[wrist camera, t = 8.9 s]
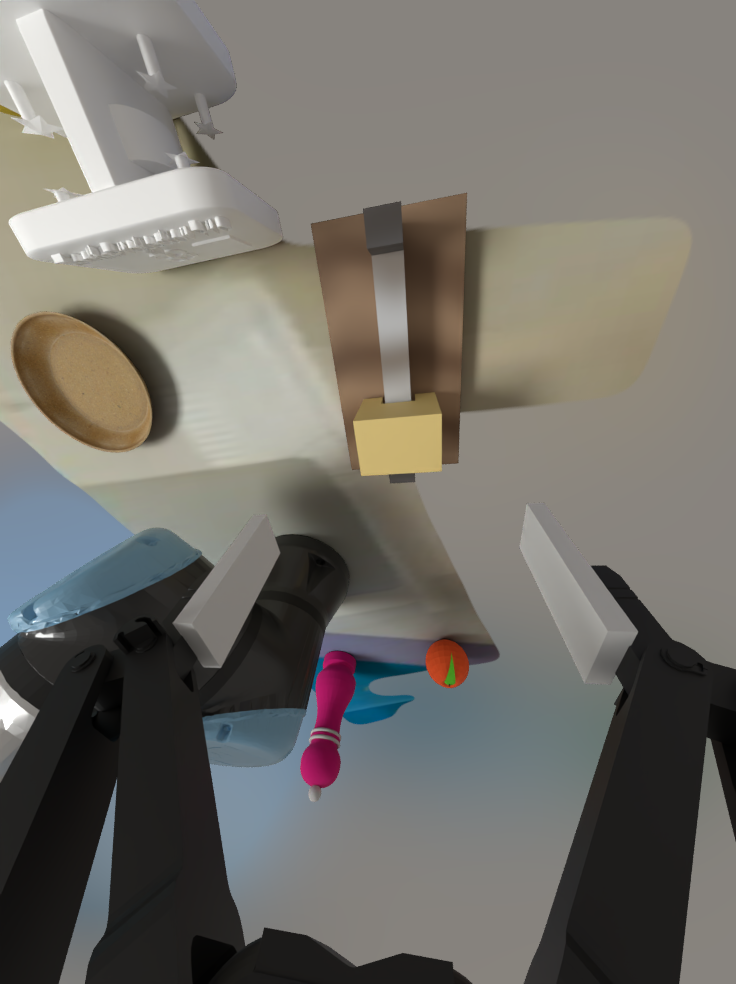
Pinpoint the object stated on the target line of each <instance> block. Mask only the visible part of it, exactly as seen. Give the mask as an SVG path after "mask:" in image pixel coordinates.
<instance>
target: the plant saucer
mask: <svg viewBox="0 0 736 984" xmlns="http://www.w3.org/2000/svg"><path fill="white" fill-rule="evenodd" d="M11 357H12V362H13V366H14V369H15V371H16V374H17V377H18V379H19V381H20V383H21V385H22V387H23V388H24V390H25V392H26V393H27V395H28V396H29V398H30V399H31V401H32V402H33V403H34V404H35V406H36V407H37V408H38V409H39V410H40V412H41V413H42V414H43V415H44V416H45V417H46V418H47V419H48V420H49V421H50V422H51V423H53V424H54V425H55V426H56V427H57V428H59V429H60V430H61V431H63V432H64V433H65V434H67V435H69V436H70V437H71V438H73V439H75V440H77V441H79V442H81V443H82V444H85V445H87V446H89V447H92V448H95V449H98V450H101V451H106V452H116V453H117V452H126V451H130V450H132V449H135V448H136V447H138V446H140V445H141V444H142V443H143V442H144V441H145V440H146V438H147V437H148V435H149V433H150V430H151V425H152V404H151V399H150V395H149V392H148V389H147V387H146V384H145V382H144V380H143V378H142V376H141V375H140V373H139V371H138V370H137V368H136V367H135V366H134V364H133V363H132V362H131V360H130V359H129V358H128V357H127V356H126V355H125V354H124V353H123V352H122V350H121V349H120V348H118V347H117V346H116V345H115V344H114V343H113V342H112V341H111V340H109V339H108V338H107V337H106V336H104V335H103V334H102V333H100V332H99V331H97V330H96V329H94V328H93V327H91V326H90V325H88V324H86V323H84V322H82V321H80V320H78V319H76V318H74V317H71V316H68V315H65V314H61V313H57V312H47V311H45V312H37V313H33V314H30V315H28V316H26V317H24V318H23V319H22V320H20V322H19V323H18V324H17V325H16V327H15V328H14V331H13V334H12V338H11Z"/></svg>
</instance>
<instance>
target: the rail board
mask: <svg viewBox="0 0 736 984" xmlns="http://www.w3.org/2000/svg"><path fill="white" fill-rule="evenodd" d="M466 206H467V193H464V194H458V195H453V196H448V197H444V198H438V199H433V200H428V201H423V202H418V203H413V204H408V205H403V206H401V202H395V203H390V204H385V205H380V206H375V207H370V208H366V209H363V214H358V215H353V216H348V217H343V218H338V219H332V220H327V221H323V222H318V223H312V224H311V228H312V233H313V240H314V246H315V252H316V258H317V264H318V269H319V275H320V281H321V287H322V293H323V299H324V305H325V311H326V317H327V323H328V329H329V335H330V341H331V347H332V353H333V359H334V365H335V371H336V377H337V383H338V389H339V395H340V401H341V407H342V413H343V419H344V425H345V431H346V437H347V443H348V449H349V455H350V461H351V467H352V470H356V469H360V465H359V458H358V451H357V445H356V438H355V432H354V425H353V420H354V418H355V416H356V414H357V412H358V410H359V408H360V406H361V404H362V402H363V400H364V399H370V398H380V397H383V404H385V403H396V402H406V401H415V394H420V393H431V392H435V395H436V398H437V401H438V404H439V407H440V410H441V413H442V464H455V463H458V456H459V424H460V394H461V363H462V332H463V301H464V270H465V239H466V208H467V207H466ZM389 478H390V483H406V482H415V473H404V474H389Z"/></svg>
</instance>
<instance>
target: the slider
mask: <svg viewBox="0 0 736 984" xmlns="http://www.w3.org/2000/svg"><path fill="white" fill-rule="evenodd" d="M353 425H354V432H355V438H356V445H357V451H358V458H359V465H360V471H361V476H370V475H387V474H404V473H420V472H421V473H422V472H438V471H442V413H441V410H440V407H439V404H438V401H437V398H436V395H435V392H431V393H420V394H415V401H406V402H396V403H385V404H383V397H380V398H370V399H364V400H363V402H362V404H361V406H360V408H359V410H358V412H357V414H356V416H355V418H354V420H353Z"/></svg>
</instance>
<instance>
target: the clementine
mask: <svg viewBox="0 0 736 984" xmlns="http://www.w3.org/2000/svg"><path fill="white" fill-rule="evenodd" d="M426 667H427V670H428V672H429V675H430V676H431V678H432V679H433V680H434V681H435V682H436V683H437V684H439V685H441V686H443V687H447V688H453V687H457V686H459V685H460V684H462V682H464V680H465V679H466V677H467V675H468V671H469V661H468V658H467V655H466V653H465V652H464V650H463V649H462V648H461V647H460V646H459V645H458V644H457V643H455V642H453V641H451V640H446V639H443V640H439V641H436V642H435V643H433V644H432V645H431V646H430V648H429V649H428V652H427V654H426Z"/></svg>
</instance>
